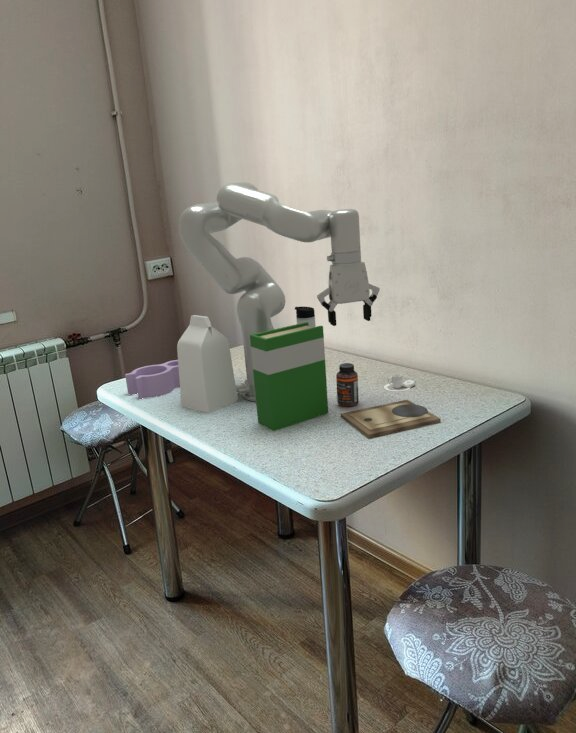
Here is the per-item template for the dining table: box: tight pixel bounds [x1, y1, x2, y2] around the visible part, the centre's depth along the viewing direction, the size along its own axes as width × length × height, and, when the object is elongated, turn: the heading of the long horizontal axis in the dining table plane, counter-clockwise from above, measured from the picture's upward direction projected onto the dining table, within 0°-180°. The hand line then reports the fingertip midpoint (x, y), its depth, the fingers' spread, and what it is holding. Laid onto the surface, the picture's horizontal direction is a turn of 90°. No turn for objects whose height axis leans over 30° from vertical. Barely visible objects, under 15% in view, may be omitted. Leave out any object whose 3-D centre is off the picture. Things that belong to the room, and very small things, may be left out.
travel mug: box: [294, 306, 317, 327], centre depth 207 cm, size 6×7×20 cm
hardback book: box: [250, 322, 329, 432], centre depth 160 cm, size 18×7×24 cm, turn 124°
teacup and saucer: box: [383, 373, 416, 393], centre depth 180 cm, size 9×8×4 cm
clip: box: [124, 359, 180, 400], centre depth 196 cm, size 20×12×7 cm, turn 133°
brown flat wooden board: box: [340, 399, 442, 439], centre depth 157 cm, size 20×16×1 cm
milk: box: [176, 314, 239, 414], centre depth 176 cm, size 12×12×26 cm
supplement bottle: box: [335, 362, 360, 408], centre depth 169 cm, size 6×6×11 cm
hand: (350, 322), depth 165 cm, fingers open, 9 cm apart
